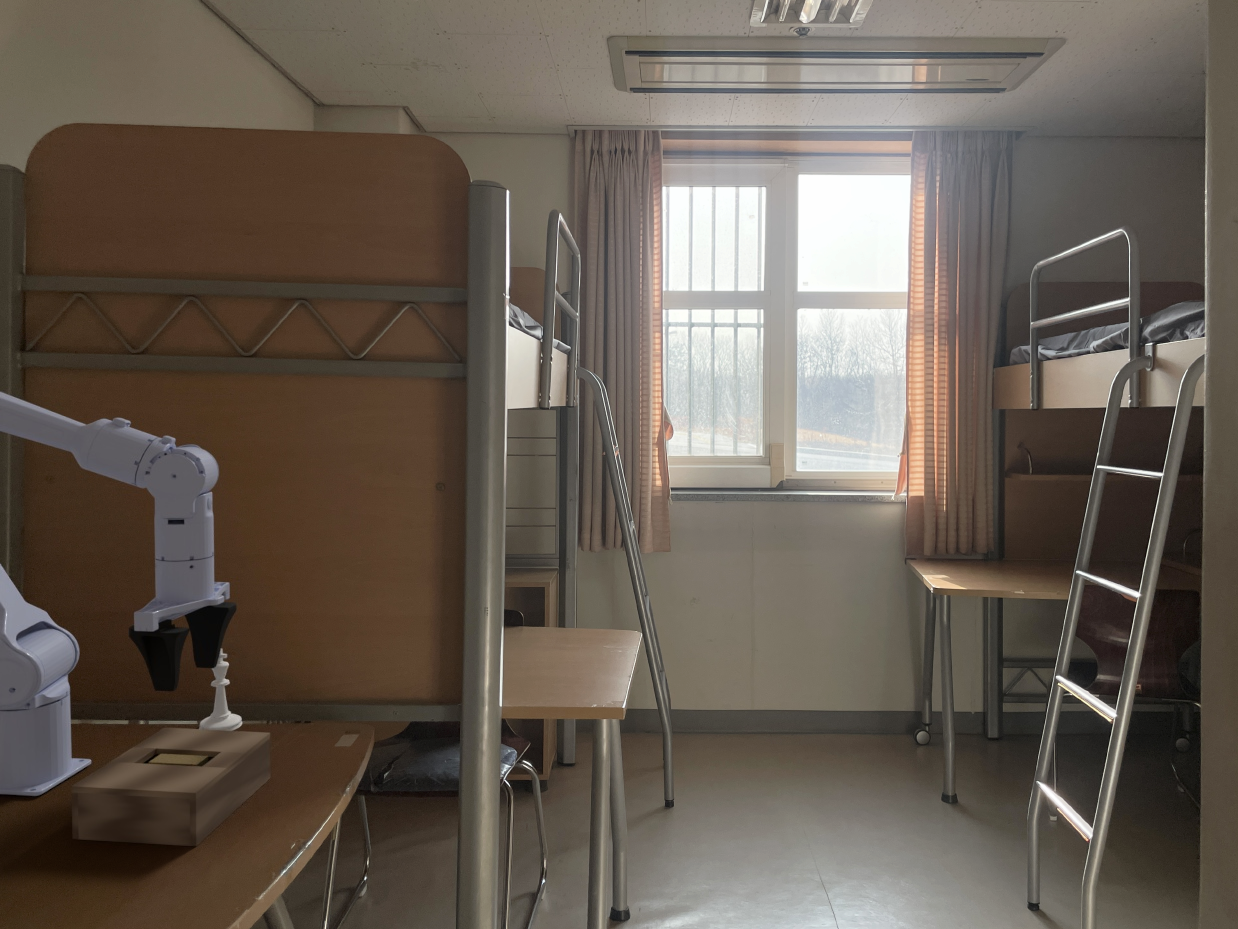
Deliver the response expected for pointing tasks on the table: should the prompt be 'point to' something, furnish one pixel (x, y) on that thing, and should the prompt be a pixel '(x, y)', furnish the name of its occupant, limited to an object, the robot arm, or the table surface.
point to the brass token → (180, 760)
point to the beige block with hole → (171, 788)
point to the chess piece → (221, 702)
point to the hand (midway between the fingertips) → (186, 678)
